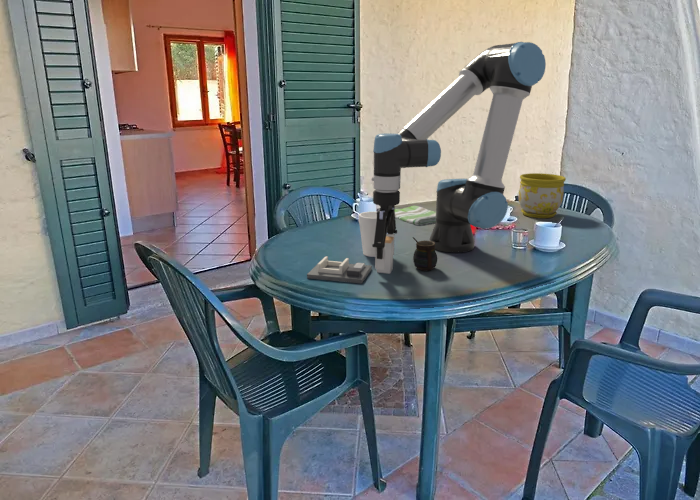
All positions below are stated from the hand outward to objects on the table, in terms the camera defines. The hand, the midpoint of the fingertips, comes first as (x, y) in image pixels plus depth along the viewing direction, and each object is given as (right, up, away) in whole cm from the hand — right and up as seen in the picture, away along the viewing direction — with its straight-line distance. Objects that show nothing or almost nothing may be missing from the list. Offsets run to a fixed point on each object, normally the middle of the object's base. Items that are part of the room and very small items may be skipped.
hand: (384, 261), depth 150 cm
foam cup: (-3, +2, +17) cm, 17 cm away
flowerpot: (+70, +18, +68) cm, 99 cm away
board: (-13, -3, -2) cm, 14 cm away
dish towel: (+17, +17, +65) cm, 69 cm away
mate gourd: (+12, -2, +3) cm, 12 cm away
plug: (0, -3, +1) cm, 3 cm away
